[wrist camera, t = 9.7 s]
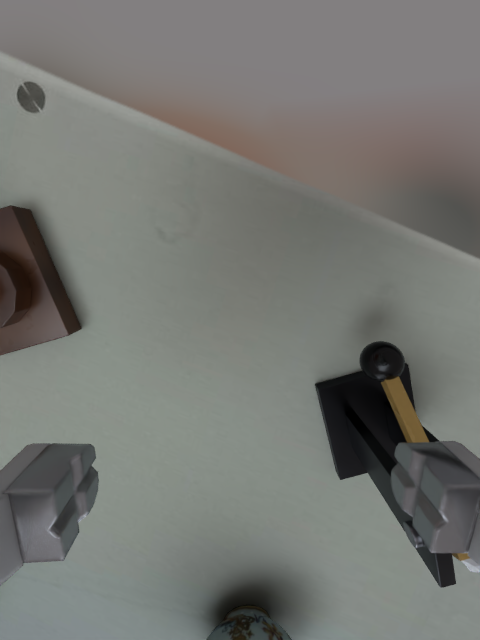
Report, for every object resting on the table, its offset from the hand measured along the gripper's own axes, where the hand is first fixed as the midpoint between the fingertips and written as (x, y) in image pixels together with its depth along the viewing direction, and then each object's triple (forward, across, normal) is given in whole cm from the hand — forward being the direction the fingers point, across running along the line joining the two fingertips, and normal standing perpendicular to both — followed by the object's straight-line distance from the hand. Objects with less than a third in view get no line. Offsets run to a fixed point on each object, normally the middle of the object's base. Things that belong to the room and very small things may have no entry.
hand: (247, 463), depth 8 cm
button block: (+20, +20, -2) cm, 28 cm away
